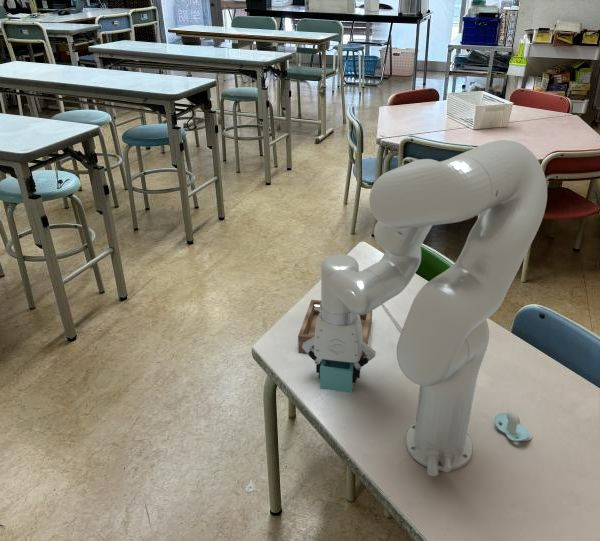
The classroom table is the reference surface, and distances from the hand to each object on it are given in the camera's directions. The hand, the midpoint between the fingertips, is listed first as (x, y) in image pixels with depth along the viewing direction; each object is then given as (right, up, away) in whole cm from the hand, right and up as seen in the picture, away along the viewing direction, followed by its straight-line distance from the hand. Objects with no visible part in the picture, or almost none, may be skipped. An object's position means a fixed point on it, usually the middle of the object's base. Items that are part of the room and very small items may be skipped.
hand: (338, 376), depth 123 cm
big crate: (+1, +7, +15) cm, 16 cm away
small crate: (0, -1, +1) cm, 1 cm away
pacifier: (+34, -9, -14) cm, 38 cm away
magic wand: (+15, +12, +23) cm, 30 cm away
